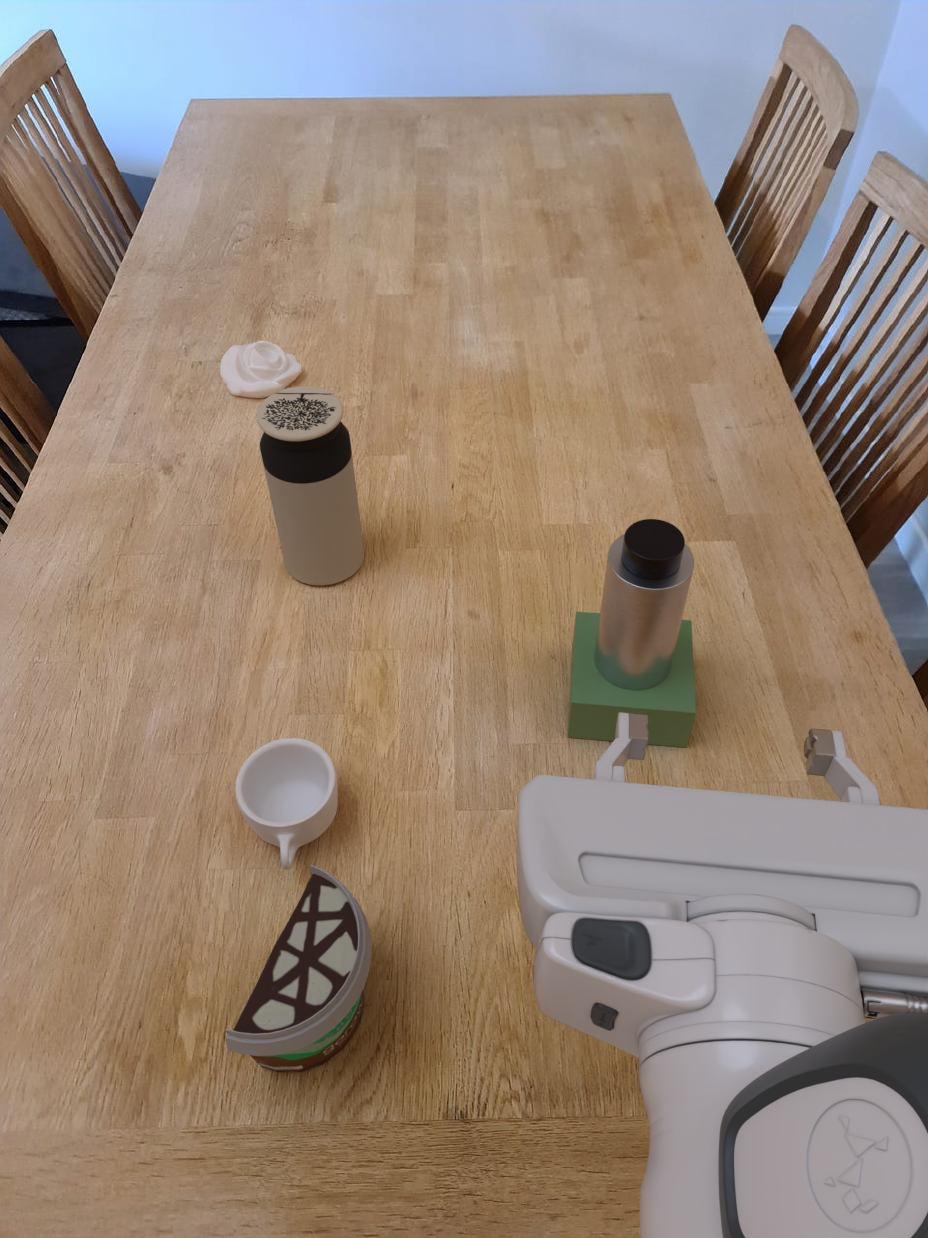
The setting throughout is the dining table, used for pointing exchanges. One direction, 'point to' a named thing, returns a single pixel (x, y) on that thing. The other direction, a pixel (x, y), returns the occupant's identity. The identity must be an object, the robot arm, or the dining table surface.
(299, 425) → the travel mug
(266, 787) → the teacup
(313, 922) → the food container
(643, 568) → the flask
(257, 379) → the rose
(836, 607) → the dining table surface
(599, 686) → the green block
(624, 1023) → the robot arm
